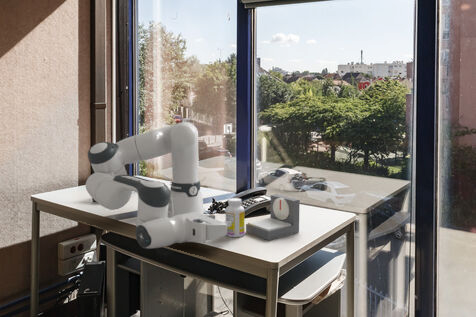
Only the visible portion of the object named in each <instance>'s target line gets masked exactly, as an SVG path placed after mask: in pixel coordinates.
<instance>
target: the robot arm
mask: <svg viewBox="0 0 476 317" xmlns="http://www.w3.org/2000/svg"><path fill="white" fill-rule="evenodd" d="M168 154H171V168H172V169H171V170H172V181H170V182H169V183H170V184H169V185H170V188H169V187H168V185H167V184H166V183H164V182H162V181H158V180H157V181H156V180H152V181H150V180H151V179H145V178H143V177H138V176H135V175H131V174H128V173H127V170H126V167H125V166H126V165H128V164H129V165H130V164H136V163H140V162H144V161H148V160H151V159H154V158H158V157H163V156H165V155H168ZM199 156H200V155H199V131H198V128H197V127H196V126H195V125H194V124H193V123H192V122H189V121H182V122H179V123H178V122H177V123H175V124H171V125H169V126H163V127H161V128H157V129H154V130H150V131H146V132H143V133H140V134H135V135H132V136H129V137H126V138H123V139H121V140H119V141H117V142H115V143H114V142H109V141H100V142H97V143H94V144H93V145H92V146H90V148H89V150H88V151H87V158H88V161H89V163H90V165H91V167H92V170H93V172H94V173H92V174H91V175H89V176H88V178H87V179H86V182H85V190H86V191H87V193H88V194H89V196H90V197H91V198H93V199H94V200H95V201H96V202H95V203H97V204H99V205H100V206H101V207H103V208H104V209H107V210H111V211H112V210H113V211H115V210H119V209H121V208H123V207H124V206H125V205H127V204H128V202H129V201H130V200H131V199H132V198H131V194H132V191H134V192H137V194H138V196H137V198H138V199H137V201H138V202H137V211H136V213H137V215H136V228H135V238H136V242H137V243H138V244H139V246H140V247H141V248H143V249H159V248H165V247H169V246H172V245H173V244H176V243H177V244H182V243H196V244H204V243H206V242H207V241H210V240H211V241H212V240H216V239H220V238H222V237H225V236H227V235H226V234H227V227H230V226H231V225H232V222H231V221H229V220H227V221H226V220H224V221H220V220H218V219H216V215H214V214H204V213H205V212H206V211H207V210H206V208H205V207H204V201H203V200H204V199H203V192H201V181H200V164H199V162H200V161H199V159H200V157H199Z"/></svg>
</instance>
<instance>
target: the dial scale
mask: <svg viewBox="0 0 476 317" xmlns="http://www.w3.org/2000/svg"><path fill="white" fill-rule="evenodd" d="M300 204H301V203H300V199H299V198H293V197H289V196H285V195H281V194H271V195H270V208H269V209H270V215H269V217H267V218H262V219H258V220H253V221H250V222H249V221H248V222H247V223H246V224H245V233H247V234H250V235H252V236H256V237H258V238H260V239H264V240H266V241H272V240H276V239H279V238H283V237H287V236H291V235H293V234H297V233H299V232H300Z"/></svg>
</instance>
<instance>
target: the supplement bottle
mask: <svg viewBox="0 0 476 317" xmlns="http://www.w3.org/2000/svg"><path fill="white" fill-rule="evenodd" d="M227 203H228V206H226V208H225V221H227V220H229V221H231V222H232V225H231V226H230V227H227V234H226V235H225V236H227V237H228V238H229V237H230V238H241V237H243V236H244V235H245V233H246V228H245V208H244V206H242V198H240V197H238V198H237V197H235V198H234V197H233V198H231V197H230V198H228V200H227Z"/></svg>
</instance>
